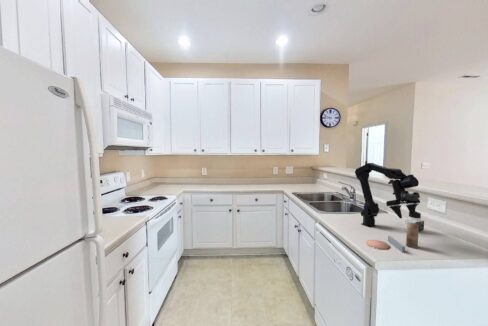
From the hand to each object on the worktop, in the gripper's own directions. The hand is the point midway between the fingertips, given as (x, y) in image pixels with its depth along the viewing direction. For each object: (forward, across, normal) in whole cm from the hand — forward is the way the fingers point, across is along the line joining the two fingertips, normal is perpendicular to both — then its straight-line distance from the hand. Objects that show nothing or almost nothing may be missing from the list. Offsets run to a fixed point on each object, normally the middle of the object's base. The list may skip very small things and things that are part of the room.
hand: (407, 217), depth 129 cm
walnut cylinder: (+15, -4, -1) cm, 15 cm away
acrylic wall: (+14, -13, +1) cm, 19 cm away
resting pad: (+12, -20, +5) cm, 24 cm away
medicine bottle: (+9, +20, +15) cm, 26 cm away
